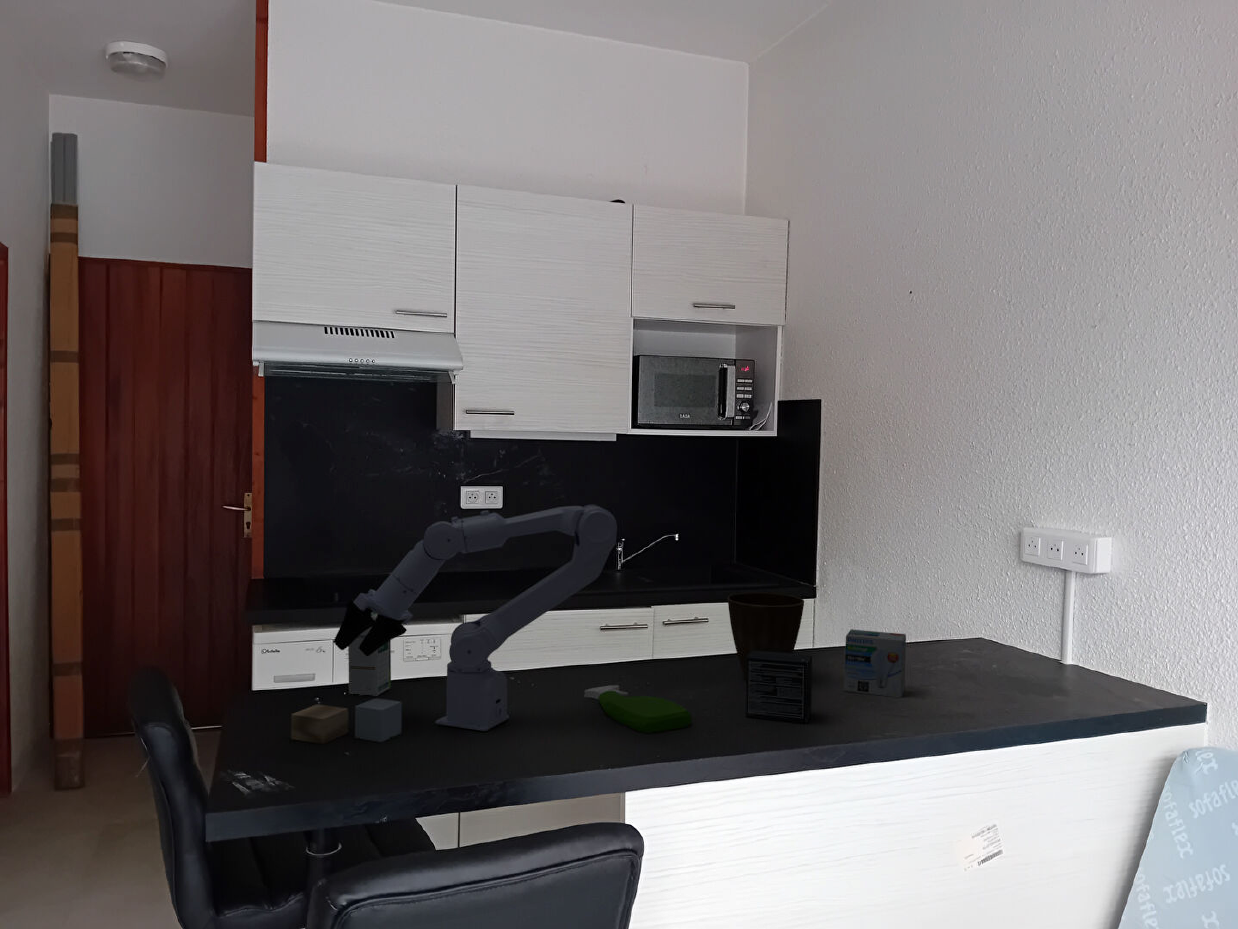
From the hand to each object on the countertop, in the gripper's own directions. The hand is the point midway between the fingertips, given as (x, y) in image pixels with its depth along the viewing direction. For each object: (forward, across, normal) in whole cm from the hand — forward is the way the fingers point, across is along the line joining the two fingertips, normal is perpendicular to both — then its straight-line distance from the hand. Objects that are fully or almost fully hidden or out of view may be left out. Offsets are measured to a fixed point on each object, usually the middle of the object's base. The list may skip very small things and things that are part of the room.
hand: (350, 649), depth 149 cm
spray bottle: (-19, -26, +36) cm, 48 cm away
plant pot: (-38, -54, +46) cm, 80 cm away
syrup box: (+9, -22, -3) cm, 24 cm away
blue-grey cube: (+6, -1, +13) cm, 15 cm away
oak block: (+12, +2, +7) cm, 14 cm away
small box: (-35, -31, +55) cm, 72 cm away
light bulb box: (-50, -53, +63) cm, 96 cm away
